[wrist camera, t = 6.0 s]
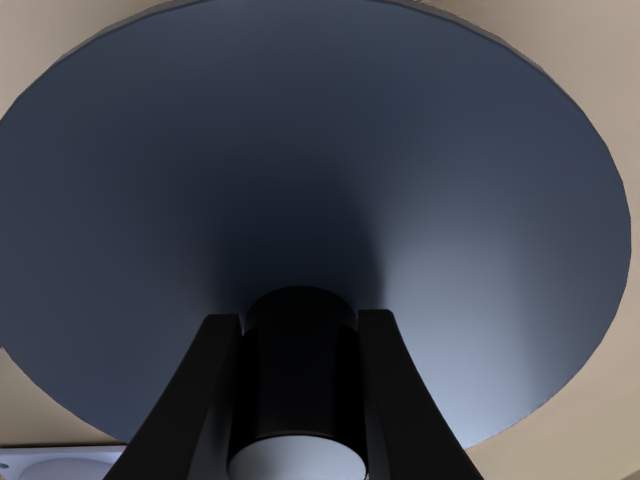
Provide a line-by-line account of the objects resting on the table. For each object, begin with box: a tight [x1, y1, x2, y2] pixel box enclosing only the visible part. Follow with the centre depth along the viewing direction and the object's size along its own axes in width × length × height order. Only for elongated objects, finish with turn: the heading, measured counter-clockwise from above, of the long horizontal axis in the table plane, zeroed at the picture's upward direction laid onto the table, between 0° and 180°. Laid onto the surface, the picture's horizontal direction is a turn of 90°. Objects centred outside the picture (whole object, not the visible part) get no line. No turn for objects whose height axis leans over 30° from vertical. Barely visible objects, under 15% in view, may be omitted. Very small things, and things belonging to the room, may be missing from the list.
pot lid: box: [0, 0, 631, 480], centre depth 11 cm, size 13×13×4 cm
